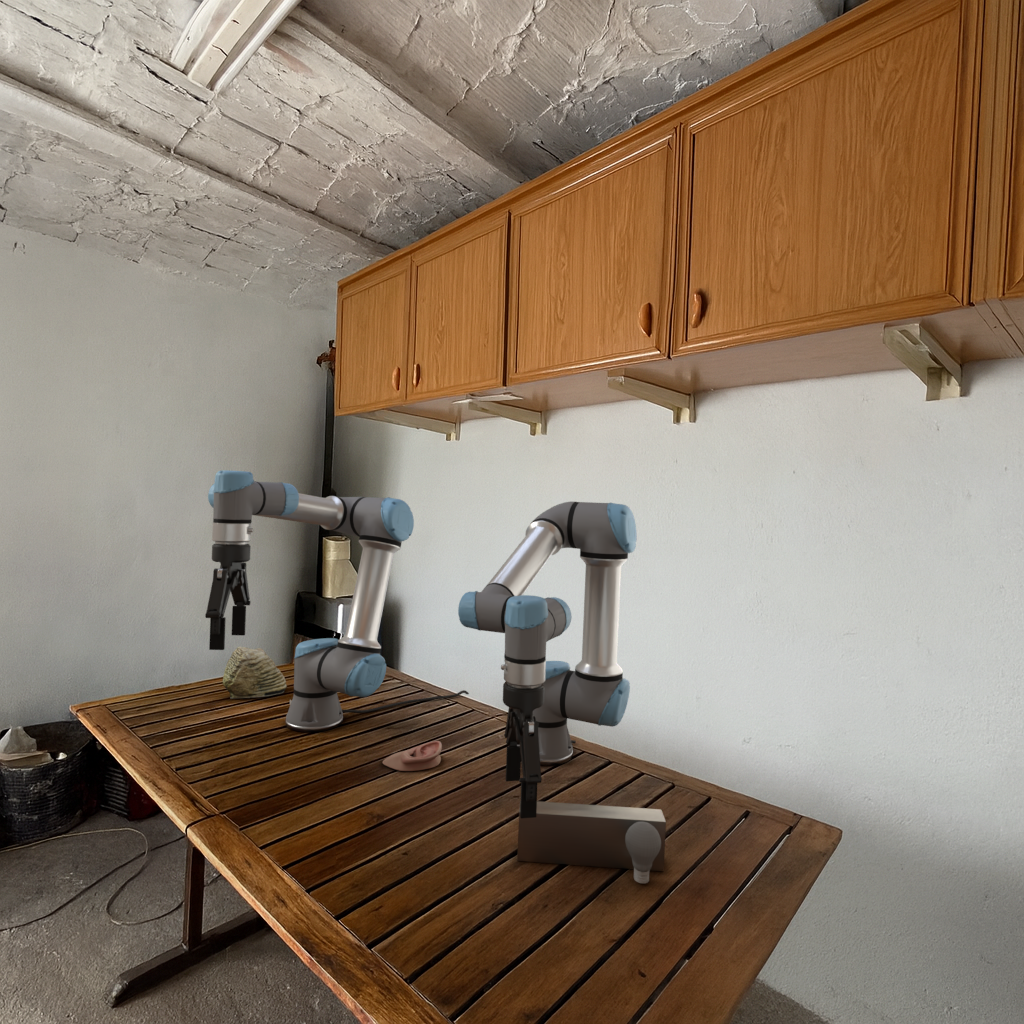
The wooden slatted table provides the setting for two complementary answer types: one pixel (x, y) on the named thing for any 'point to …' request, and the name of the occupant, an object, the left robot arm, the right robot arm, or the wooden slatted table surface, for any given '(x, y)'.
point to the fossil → (252, 674)
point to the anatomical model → (416, 757)
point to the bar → (585, 835)
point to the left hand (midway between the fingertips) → (228, 642)
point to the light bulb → (642, 848)
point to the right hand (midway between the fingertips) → (520, 797)
